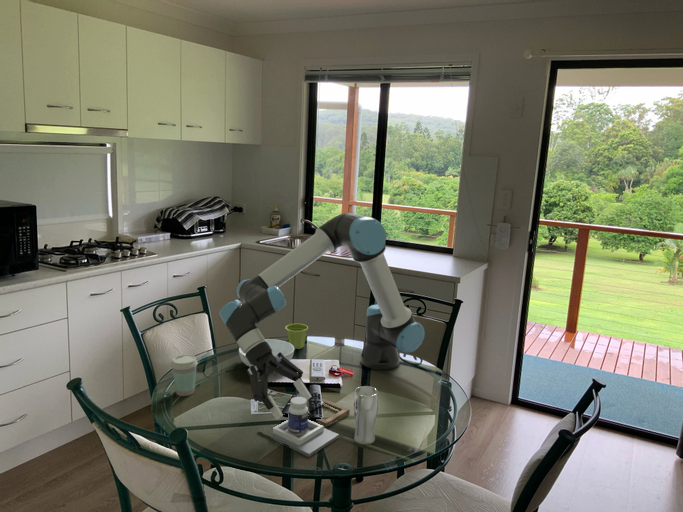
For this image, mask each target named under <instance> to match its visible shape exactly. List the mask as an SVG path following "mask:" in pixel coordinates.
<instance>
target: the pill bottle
mask: <svg viewBox="0 0 683 512" xmlns="http://www.w3.org/2000/svg"><path fill="white" fill-rule="evenodd" d="M289 403H290V406H289V408H288V412H289V414H288V432H289V433H290V434H292V435H294V436H302V435H304V434H306V433H307V431H308V407H307V406H308V405H307V404H308V400H306V399H305V398H303V397H302V396H294V397H292V398H291V399H290V402H289Z"/></svg>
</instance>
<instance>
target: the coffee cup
mask: <svg viewBox="0 0 683 512" xmlns="http://www.w3.org/2000/svg"><path fill="white" fill-rule="evenodd" d="M198 363H199V362H198V360H197V357H196V356H194V355H192V354H181V355H177V356H174V357H173V358H172V360H171V362H170V367H171V369H172V374H173V375H172V376H173V381H174V388H175V393H176V395H177V396H179V397H189V396H191V395H193V394H194V393H195V388H196V376H197V367H198V366H197V365H198Z"/></svg>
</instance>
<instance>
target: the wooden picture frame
mask: <svg viewBox="0 0 683 512" xmlns="http://www.w3.org/2000/svg"><path fill="white" fill-rule="evenodd" d="M321 398H322V397H321ZM322 401H323V402H324V403H325V404H327V405H329V406H331V407H333V408H335V409H338V410H339V411H340V412H337V413H334V414H333V415H331V416H329V417H328V418H327V419H325V418H322V417H320V418H321V419H316V421H318V422H320V423H321V424H322V425H323V426H325V427H327V426H329V425H330V424H332V423H333V422H335V421H336V420H338V419H340V418H342V417H343V418H345V417H346V416H348V415H350V408H347V407H345V406H343V405H340V404H337V403H335V402H332V401H330V400H327V399H326V398H322ZM308 416H309V415H308ZM344 416H345V417H344ZM343 418H342V419H343ZM340 420H341V419H340ZM338 421H339V420H338ZM335 423H336V422H335ZM333 424H334V423H333ZM333 424H332V425H333ZM330 426H331V425H330ZM330 426H329V427H330ZM325 427H324V428H325ZM327 428H328V427H327Z"/></svg>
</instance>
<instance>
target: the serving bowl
mask: <svg viewBox="0 0 683 512" xmlns="http://www.w3.org/2000/svg"><path fill="white" fill-rule="evenodd" d="M264 341H266V342H267V343H268V344H269V346H270V347H271V349H272V354H273V355H274V356H276V355H277V354H278V353H279V352H281V353H282V354H283V356H284V357H285V358H286V359H288V360H289V361H290V362H291V360H292V359H293V356H294V355H295V354H294V353H295V349H294V346H293V345H292V344H290V343H289V341H285V340H280V339H275V338H273V339H272V338H271V339H270V338H267V339H266V338H265V340H264ZM238 355H239V358H240V360H241V361H242V363H243V364H244V365H246V366H247V367H249V368H250V367H251V366H254V365H251V364H250V363H249V361H248V359H247V358H246V353H243V351H242V350H241V348H240V347H239V348H238Z"/></svg>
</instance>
